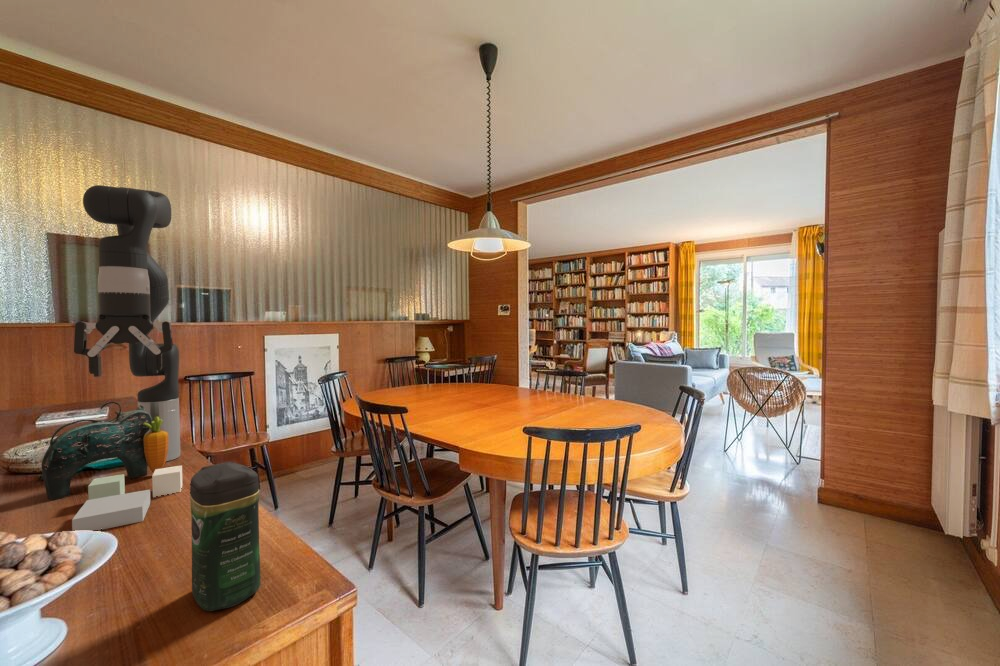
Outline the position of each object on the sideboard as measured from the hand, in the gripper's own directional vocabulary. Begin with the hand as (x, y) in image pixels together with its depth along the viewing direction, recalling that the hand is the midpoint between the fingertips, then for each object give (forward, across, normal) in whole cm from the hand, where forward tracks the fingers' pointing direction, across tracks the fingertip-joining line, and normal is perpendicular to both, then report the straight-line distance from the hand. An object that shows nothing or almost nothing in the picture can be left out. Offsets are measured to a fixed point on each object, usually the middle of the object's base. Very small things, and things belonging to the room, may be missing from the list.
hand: (127, 374), depth 82 cm
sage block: (+29, +6, -15) cm, 34 cm away
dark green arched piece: (+30, +9, -28) cm, 42 cm away
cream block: (+29, -4, -15) cm, 33 cm away
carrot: (+30, -1, -29) cm, 41 cm away
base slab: (+29, +3, -4) cm, 30 cm away
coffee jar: (+30, -16, +36) cm, 49 cm away
